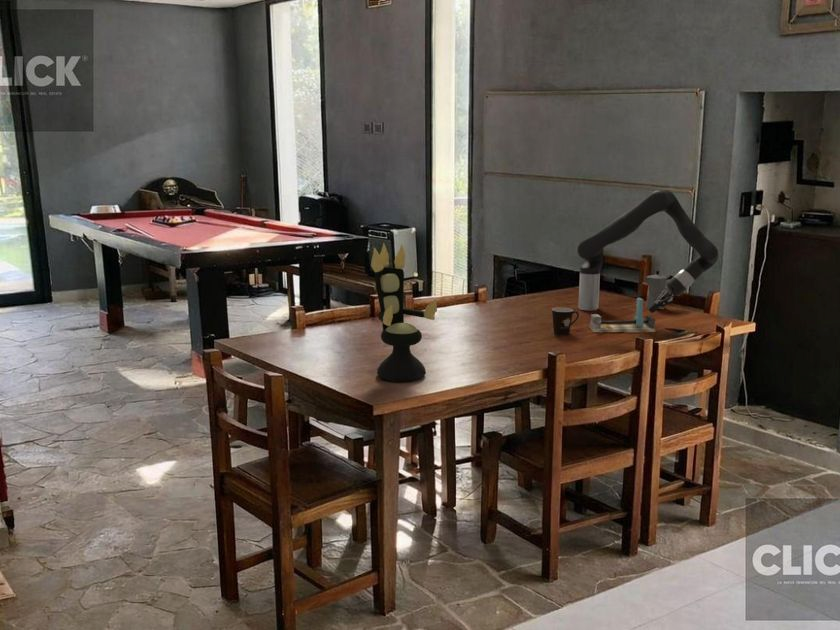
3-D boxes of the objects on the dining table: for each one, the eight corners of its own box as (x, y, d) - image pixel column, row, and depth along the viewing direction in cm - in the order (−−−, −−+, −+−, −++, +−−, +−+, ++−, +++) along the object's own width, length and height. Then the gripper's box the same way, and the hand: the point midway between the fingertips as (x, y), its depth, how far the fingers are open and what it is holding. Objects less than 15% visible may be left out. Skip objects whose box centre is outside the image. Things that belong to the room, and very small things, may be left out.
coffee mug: (552, 335, 348) (553, 311, 346) (550, 330, 356) (550, 307, 354) (580, 335, 348) (581, 312, 346) (577, 331, 356) (578, 307, 354)
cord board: (648, 327, 363) (649, 312, 361) (655, 332, 355) (656, 316, 353) (589, 328, 361) (589, 313, 359) (594, 332, 353) (595, 317, 351)
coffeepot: (645, 310, 397) (648, 272, 393) (638, 306, 406) (640, 269, 402) (677, 309, 399) (679, 272, 395) (668, 305, 408) (671, 268, 404)
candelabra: (391, 387, 278) (390, 251, 268) (357, 371, 296) (355, 243, 286) (437, 378, 288) (439, 247, 279) (402, 363, 306) (402, 239, 297)
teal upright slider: (640, 324, 360) (641, 297, 357) (643, 326, 356) (645, 299, 353) (633, 324, 360) (635, 297, 357) (636, 326, 356) (638, 299, 353)
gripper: (669, 273, 361) (639, 302, 363) (680, 279, 348) (649, 308, 350) (680, 285, 362) (650, 314, 364) (692, 291, 350) (661, 320, 351)
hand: (650, 311), depth 357 cm, fingers closed
